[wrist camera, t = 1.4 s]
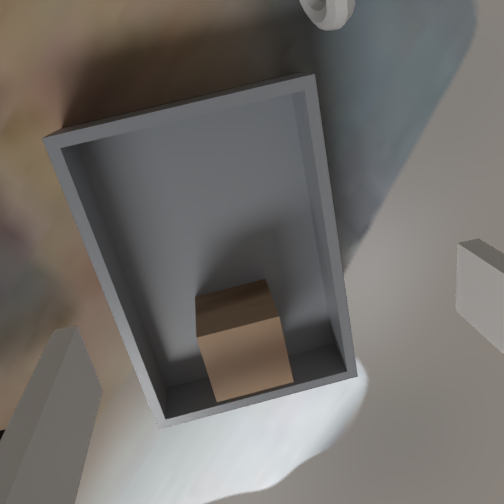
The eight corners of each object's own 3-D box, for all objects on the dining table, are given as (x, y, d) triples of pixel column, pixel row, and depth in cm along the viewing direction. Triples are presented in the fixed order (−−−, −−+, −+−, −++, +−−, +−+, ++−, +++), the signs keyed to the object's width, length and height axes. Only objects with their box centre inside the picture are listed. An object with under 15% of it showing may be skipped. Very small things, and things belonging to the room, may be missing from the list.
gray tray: (61, 128, 31) (41, 138, 27) (297, 72, 31) (314, 73, 27) (161, 392, 40) (158, 429, 36) (340, 345, 41) (357, 376, 37)
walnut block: (194, 296, 36) (196, 337, 31) (265, 278, 37) (279, 316, 31) (212, 354, 39) (216, 402, 33) (278, 337, 39) (293, 382, 34)
